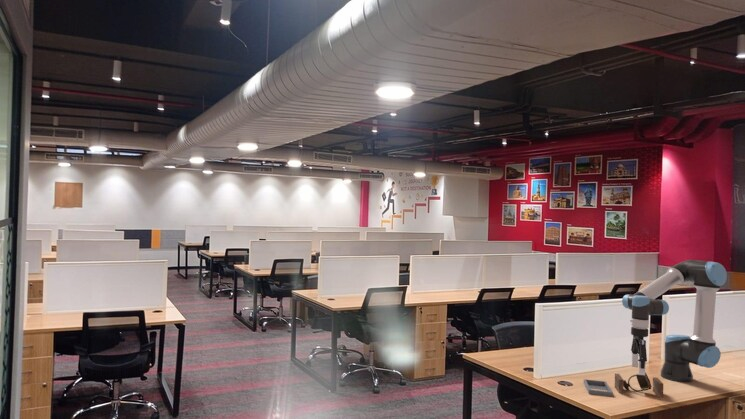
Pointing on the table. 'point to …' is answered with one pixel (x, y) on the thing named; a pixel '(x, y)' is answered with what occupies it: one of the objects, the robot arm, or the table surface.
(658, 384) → the cradle
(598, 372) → the table surface
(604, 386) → the tray
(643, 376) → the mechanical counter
